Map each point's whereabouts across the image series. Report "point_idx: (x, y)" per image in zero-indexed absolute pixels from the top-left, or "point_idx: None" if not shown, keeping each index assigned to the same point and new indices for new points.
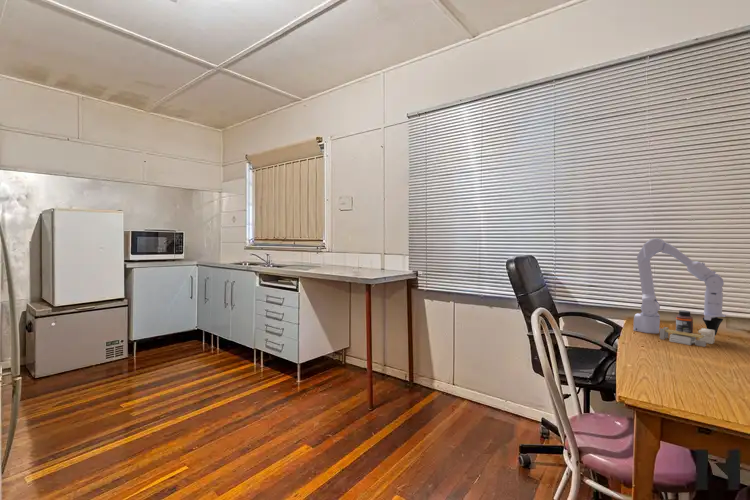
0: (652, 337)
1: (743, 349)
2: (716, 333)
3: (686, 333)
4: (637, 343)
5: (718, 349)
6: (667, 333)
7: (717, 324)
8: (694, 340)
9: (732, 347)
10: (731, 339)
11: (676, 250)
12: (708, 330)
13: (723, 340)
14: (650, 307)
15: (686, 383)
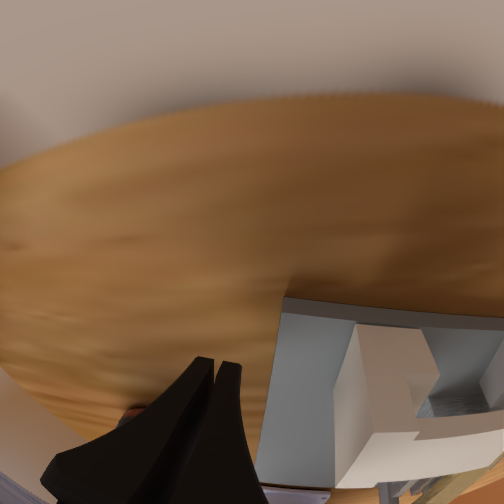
0: (341, 492)
1: (280, 96)
2: (195, 367)
3: (490, 466)
4: (484, 474)
5: (452, 267)
6: (398, 498)
7: (258, 484)
8: (463, 412)
9: (271, 183)
10: (5, 232)
11: None
12: (447, 448)
13: (62, 266)
14: None
15: None
